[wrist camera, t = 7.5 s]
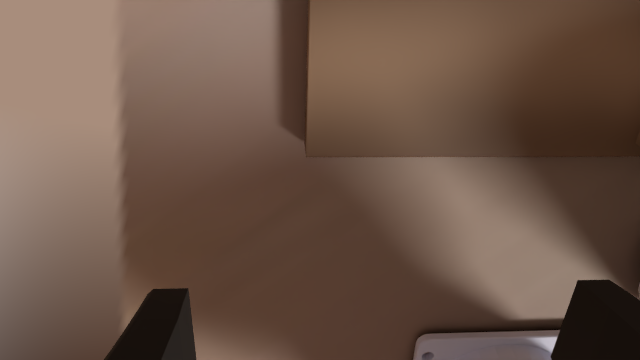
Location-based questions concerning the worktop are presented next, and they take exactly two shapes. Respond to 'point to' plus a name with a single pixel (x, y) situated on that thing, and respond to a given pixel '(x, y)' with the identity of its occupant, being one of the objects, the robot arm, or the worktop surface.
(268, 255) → the worktop surface
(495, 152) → the cradle
